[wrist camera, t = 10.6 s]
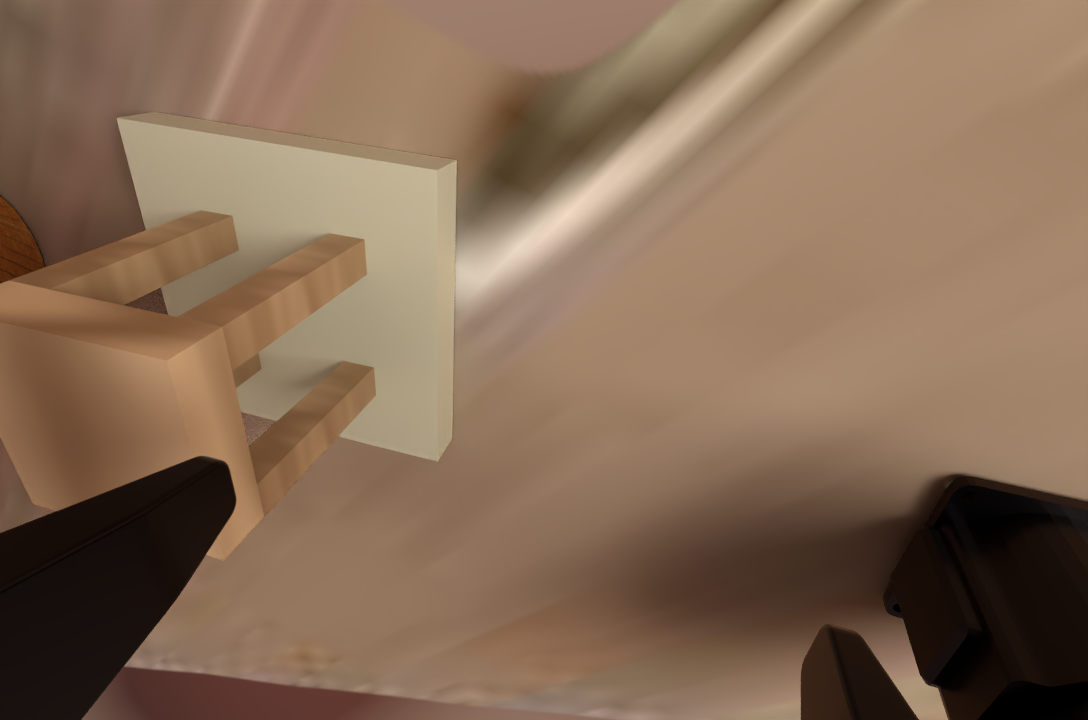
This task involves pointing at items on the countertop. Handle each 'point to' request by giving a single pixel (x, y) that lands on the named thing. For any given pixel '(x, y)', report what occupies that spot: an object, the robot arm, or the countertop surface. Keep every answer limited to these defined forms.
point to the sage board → (299, 220)
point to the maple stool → (166, 368)
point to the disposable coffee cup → (16, 246)
